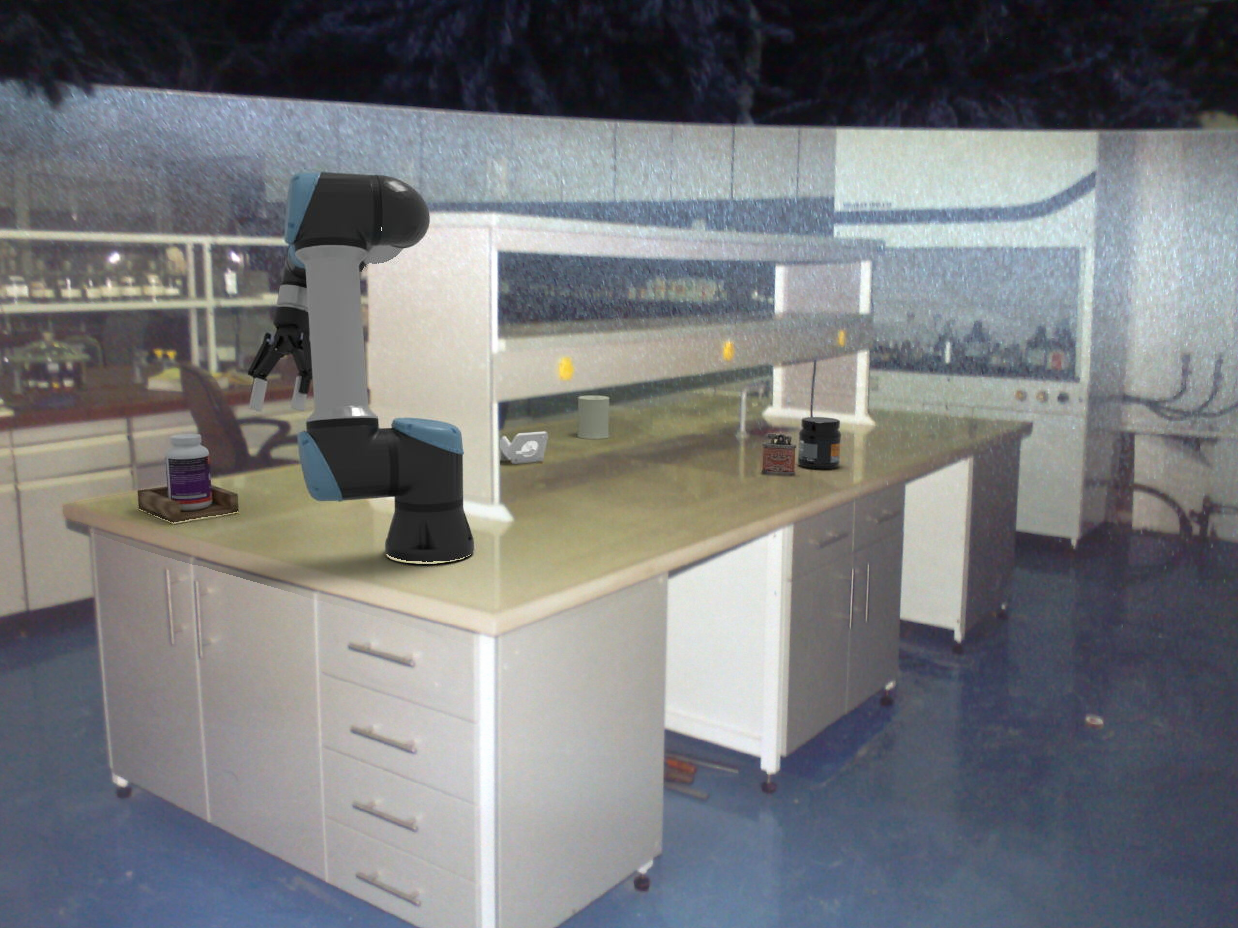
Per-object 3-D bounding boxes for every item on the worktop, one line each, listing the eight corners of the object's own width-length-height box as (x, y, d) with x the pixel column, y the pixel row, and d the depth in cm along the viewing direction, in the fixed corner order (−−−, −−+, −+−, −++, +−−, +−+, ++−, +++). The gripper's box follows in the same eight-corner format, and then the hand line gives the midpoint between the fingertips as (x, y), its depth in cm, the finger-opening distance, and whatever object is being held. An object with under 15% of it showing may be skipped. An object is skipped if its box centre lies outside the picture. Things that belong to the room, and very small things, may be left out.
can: (585, 440, 297) (586, 398, 295) (572, 435, 306) (572, 394, 303) (614, 438, 302) (615, 397, 299) (600, 433, 310) (600, 393, 307)
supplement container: (846, 466, 265) (849, 419, 262) (826, 472, 257) (829, 424, 254) (810, 460, 271) (812, 415, 269) (789, 466, 263) (791, 419, 261)
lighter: (795, 473, 254) (797, 433, 252) (794, 476, 251) (796, 435, 249) (762, 471, 256) (764, 431, 254) (760, 474, 253) (762, 433, 251)
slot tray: (238, 513, 206) (237, 493, 205) (173, 524, 197) (171, 503, 196) (202, 500, 217) (201, 481, 216) (138, 510, 208) (137, 490, 207)
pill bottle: (220, 507, 206) (215, 436, 204) (180, 514, 200) (175, 440, 198) (200, 501, 212) (196, 431, 209) (161, 507, 206) (156, 435, 203)
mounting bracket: (497, 472, 260) (505, 436, 255) (488, 458, 265) (495, 422, 259) (541, 468, 266) (548, 433, 261) (531, 454, 271) (538, 419, 265)
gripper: (348, 313, 213) (330, 413, 209) (271, 319, 227) (253, 414, 223) (320, 301, 206) (300, 404, 203) (242, 308, 221) (223, 405, 217)
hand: (275, 409), depth 213 cm, fingers open, 13 cm apart
